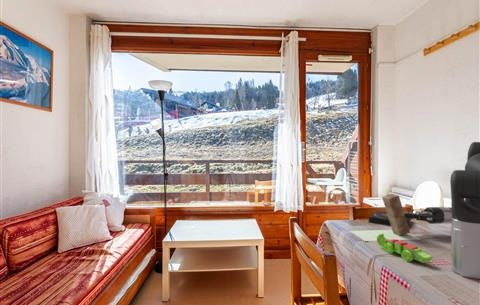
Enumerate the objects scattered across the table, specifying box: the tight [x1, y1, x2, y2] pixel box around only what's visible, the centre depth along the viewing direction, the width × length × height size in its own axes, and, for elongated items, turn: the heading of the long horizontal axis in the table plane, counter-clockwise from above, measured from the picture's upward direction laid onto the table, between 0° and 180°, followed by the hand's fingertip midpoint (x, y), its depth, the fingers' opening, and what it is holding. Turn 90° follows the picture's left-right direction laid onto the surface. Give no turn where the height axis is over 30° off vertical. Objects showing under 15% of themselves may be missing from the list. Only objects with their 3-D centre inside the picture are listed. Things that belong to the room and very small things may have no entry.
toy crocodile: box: [376, 234, 433, 264], centre depth 99 cm, size 20×7×6 cm, turn 20°
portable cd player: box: [368, 210, 411, 227], centre depth 143 cm, size 16×17×4 cm
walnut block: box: [381, 193, 411, 236], centre depth 122 cm, size 5×5×18 cm
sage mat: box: [349, 229, 423, 242], centre depth 121 cm, size 26×14×1 cm, turn 93°
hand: (403, 215), depth 122 cm, fingers closed
